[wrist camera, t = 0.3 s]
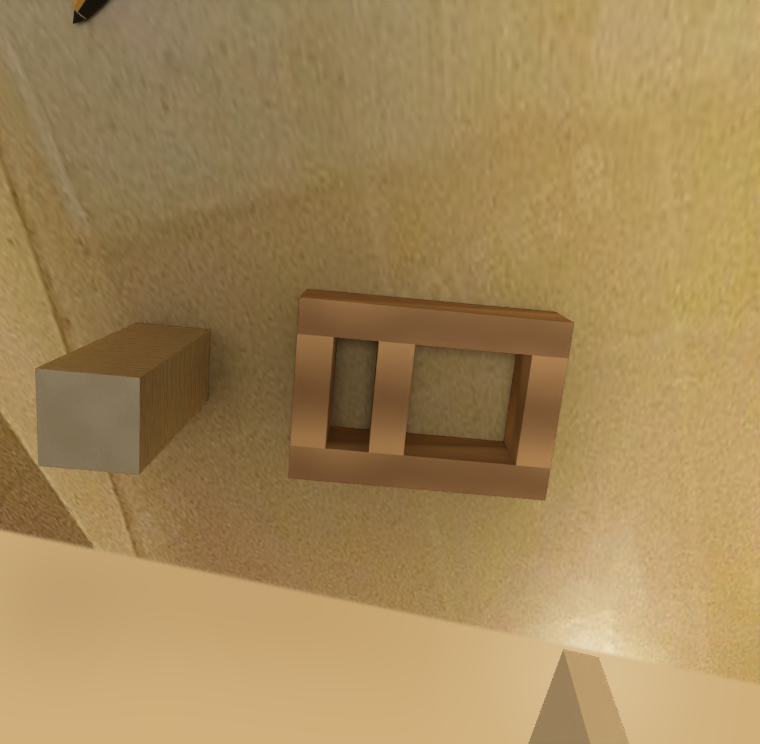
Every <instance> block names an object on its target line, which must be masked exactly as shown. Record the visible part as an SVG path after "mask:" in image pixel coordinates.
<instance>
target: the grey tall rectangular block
mask: <svg viewBox="0 0 760 744" xmlns="http://www.w3.org/2000/svg"><path fill="white" fill-rule="evenodd" d="M209 358H210V329H200V328H189V327H178V326H167V325H156V324H145V323H135V324H133V325H130V326H128V327H126V328H124V329H121V330H119V331H117V332H115V333H113V334H110V335H108V336H106V337H104V338H102V339H99V340H97V341H95V342H93V343H91V344H88V345H86V346H84V347H82V348H79V349H77V350H75V351H73V352H71V353H68V354H66V355H64V356H62V357H60V358H57V359H55V360H53V361H51V362H49V363H46V364H44V365H42V366H40V367H38V368H35V374H36V404H37V434H38V465H39V466H46V467H57V468H69V469H80V470H92V471H103V472H115V473H126V474H138V475H139V474H140V473H141V472H142V471H143V470H144V469H145V468H146V467H147V466H148V465H149V464H150V463H151V461H152V460H153V459H154V458H155V457H156V456H157V455H158V454H159V453H160V452H161V451H162V450H163V448H164V447H165V446H166V445H167V444H168V443H169V442H170V441H171V440H172V439H173V438H174V437H175V435H176V434H177V433H178V432H179V431H180V430H181V429H182V428H183V427H184V426H185V425H186V424H187V423H188V421H189V420H190V419H191V418H192V417H193V416H194V415H195V414H196V413H197V412H198V411H199V410H200V408H201V407H202V406H203V405H204V404H205V403H206V402H207V401H208V390H209Z"/></svg>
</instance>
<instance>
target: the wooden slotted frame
mask: <svg viewBox="0 0 760 744" xmlns="http://www.w3.org/2000/svg"><path fill="white" fill-rule="evenodd" d="M573 327H574V322H572V321H570V320H568V319H567V318H565V317H563V316H562V315H560V314H558V313H556V312H550V311H539V310H529V309H518V308H507V307H496V306H485V305H474V304H463V303H453V302H442V301H431V300H420V299H409V298H398V297H388V296H377V295H366V294H355V293H344V292H333V291H323V290H312V289H307V290H306V291H305V292H304V293H303V295H302V296H301V297H300V298H299V314H298V330H297V346H296V361H295V377H294V393H293V409H292V425H291V441H290V457H289V472H288V478H293V479H305V480H316V481H328V482H339V483H351V484H362V485H374V486H385V487H397V488H408V489H420V490H431V491H443V492H454V493H466V494H477V495H488V496H500V497H511V498H523V499H534V500H545V499H546V493H547V487H548V481H549V474H550V468H551V462H552V456H553V450H554V444H555V438H556V432H557V425H558V419H559V413H560V407H561V401H562V395H563V389H564V383H565V376H566V370H567V364H568V358H569V352H570V346H571V340H572V334H573ZM337 338H348V339H359V340H370V341H378V349H377V360H376V371H375V381H374V392H373V403H372V414H371V424H370V430H365V429H354V428H343V427H331V414H332V401H333V388H334V375H335V362H336V349H337ZM415 345H425V346H436V347H447V348H458V349H469V350H480V351H491V352H502V353H513V354H516V359H515V366H514V373H513V380H512V387H511V394H510V401H509V408H508V415H507V422H506V429H505V436H504V442H501V441H489V440H478V439H467V438H455V437H444V436H433V435H422V434H410V433H406V427H407V417H408V408H409V398H410V389H411V380H412V370H413V361H414V351H415Z"/></svg>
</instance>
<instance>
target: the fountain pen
mask: <svg viewBox="0 0 760 744" xmlns="http://www.w3.org/2000/svg"><path fill="white" fill-rule="evenodd" d="M106 1H107V0H74V1H73V3H72V5H73V7H74V8H75V10H74V19H73V24H74V23H77V22H80V21H83V20H86V19H87V18H89V17H90V16H91V15H92V14H93V13H94V12H95V11H97V10H98V9H99V8H100V7H101V6H102V5H103V4H104V3H105V2H106Z"/></svg>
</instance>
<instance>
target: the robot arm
mask: <svg viewBox="0 0 760 744" xmlns="http://www.w3.org/2000/svg"><path fill="white" fill-rule="evenodd" d="M529 744H629V742H628V739H627V736H626V733H625V730H624V727H623V725H622V722H621V719H620V716H619V713H618V710H617V708H616V705H615V702H614V700H613V697H612V694H611V691H610V688H609V685H608V682H607V679H606V677H605V674H604V671H603V668H602V665H601V663H600V660H599V658H598V657H595V656H590V655H586V654H582V653H577V652H573V651H568V650H565V649H563V652H562V655H561V657H560V660H559V662H558V666H557V668H556V671H555V673H554V676H553V679H552V681H551V685H550V687H549V690H548V692H547V695H546V698H545V700H544V703H543V706H542V708H541V711H540V714H539V717H538V719H537V722H536V725H535V727H534V730H533V733H532V736H531V738H530V741H529Z"/></svg>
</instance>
